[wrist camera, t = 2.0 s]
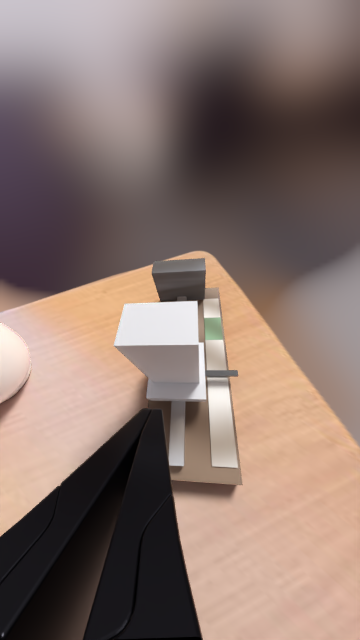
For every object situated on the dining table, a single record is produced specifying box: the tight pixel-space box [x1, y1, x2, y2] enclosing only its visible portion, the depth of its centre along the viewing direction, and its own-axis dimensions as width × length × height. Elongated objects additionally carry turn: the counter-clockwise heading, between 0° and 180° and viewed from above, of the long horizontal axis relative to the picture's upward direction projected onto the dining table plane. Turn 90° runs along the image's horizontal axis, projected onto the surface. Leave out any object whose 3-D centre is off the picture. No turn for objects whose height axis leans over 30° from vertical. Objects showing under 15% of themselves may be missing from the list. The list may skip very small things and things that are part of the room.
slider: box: [114, 301, 238, 402], centre depth 12 cm, size 5×8×10 cm, turn 88°
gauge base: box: [148, 258, 242, 485], centre depth 17 cm, size 20×8×6 cm, turn 178°
